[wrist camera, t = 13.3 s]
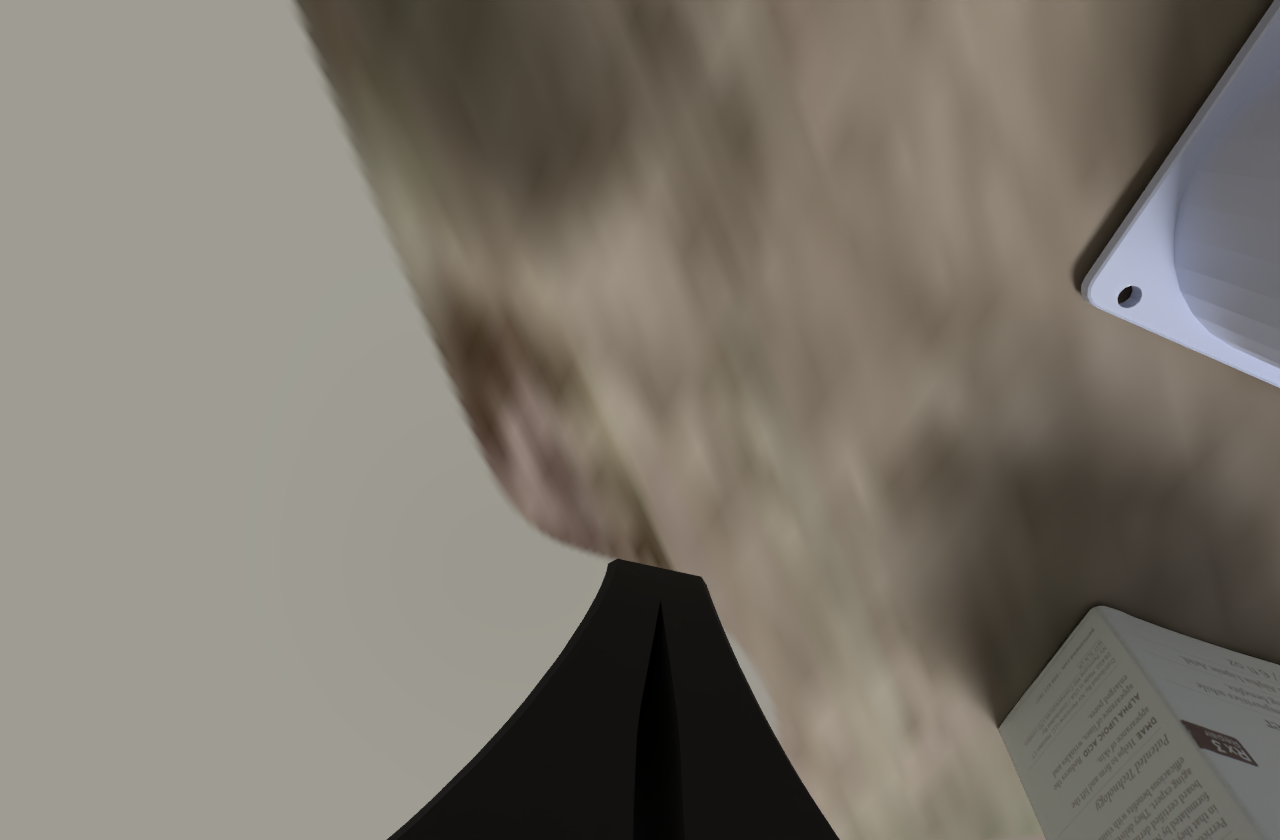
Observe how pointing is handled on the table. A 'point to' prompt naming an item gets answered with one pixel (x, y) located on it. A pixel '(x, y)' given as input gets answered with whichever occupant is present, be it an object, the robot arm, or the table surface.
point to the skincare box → (1149, 737)
